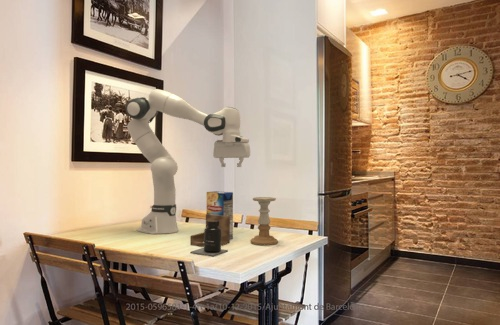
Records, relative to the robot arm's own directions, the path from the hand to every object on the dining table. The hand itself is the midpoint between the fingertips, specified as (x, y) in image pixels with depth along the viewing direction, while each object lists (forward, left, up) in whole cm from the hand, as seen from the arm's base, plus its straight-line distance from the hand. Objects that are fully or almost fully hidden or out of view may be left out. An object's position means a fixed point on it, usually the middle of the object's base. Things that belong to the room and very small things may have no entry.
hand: (231, 166), depth 182 cm
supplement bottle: (+14, -36, -34) cm, 51 cm away
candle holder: (+23, -8, -34) cm, 42 cm away
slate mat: (+13, -36, -34) cm, 51 cm away
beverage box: (0, -10, -34) cm, 36 cm away
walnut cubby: (+4, -23, -34) cm, 41 cm away
